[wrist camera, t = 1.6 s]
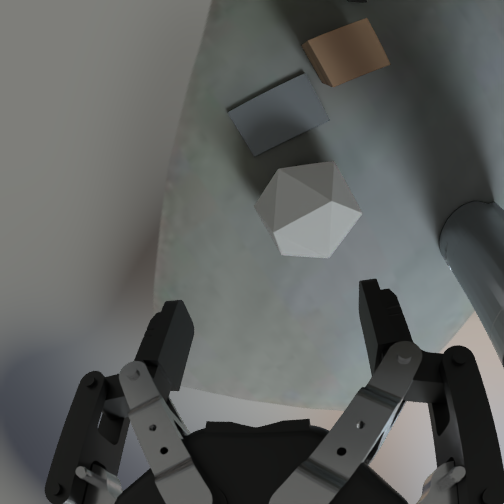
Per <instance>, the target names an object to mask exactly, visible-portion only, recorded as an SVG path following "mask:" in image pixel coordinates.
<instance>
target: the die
mask: <svg viewBox="0 0 504 504" xmlns="http://www.w3.org/2000/svg"><path fill="white" fill-rule="evenodd" d="M254 208H255V209H256V211H257V213H258V215H259V216H260V218H261V220H262V222H263V223H264V225H265V227H266V228H267V230H268V232H269V234H270V235H271V237H272V239H273V241H274V242H275V244H276V246H277V248H278V249H279V251H280V253H281V255H288V256H302V257H316V258H329V257H330V256H331V255H332V253H333V252H334V251H335V249H336V248H337V247H338V246H339V244H340V243H341V242H342V240H343V239H344V238H345V236H346V235H347V234H348V232H349V231H350V230H351V228H352V227H353V226H354V224H355V223H356V222H357V220H358V219H359V218H360V216H361V215H362V211H361V209H360V207H359V205H358V203H357V201H356V200H355V198H354V196H353V194H352V192H351V190H350V188H349V187H348V185H347V183H346V181H345V179H344V178H343V176H342V174H341V172H340V170H339V169H338V167H337V165H336V163H335V162H334V161H329V162H321V163H314V164H307V165H300V166H293V167H286V168H280V169H278V170H277V171H276V173H275V174H274V176H273V177H272V179H271V181H270V182H269V184H268V185H267V187H266V188H265V190H264V191H263V193H262V194H261V196H260V197H259V199H258V201H257V202H256V204H255V205H254Z"/></svg>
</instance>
